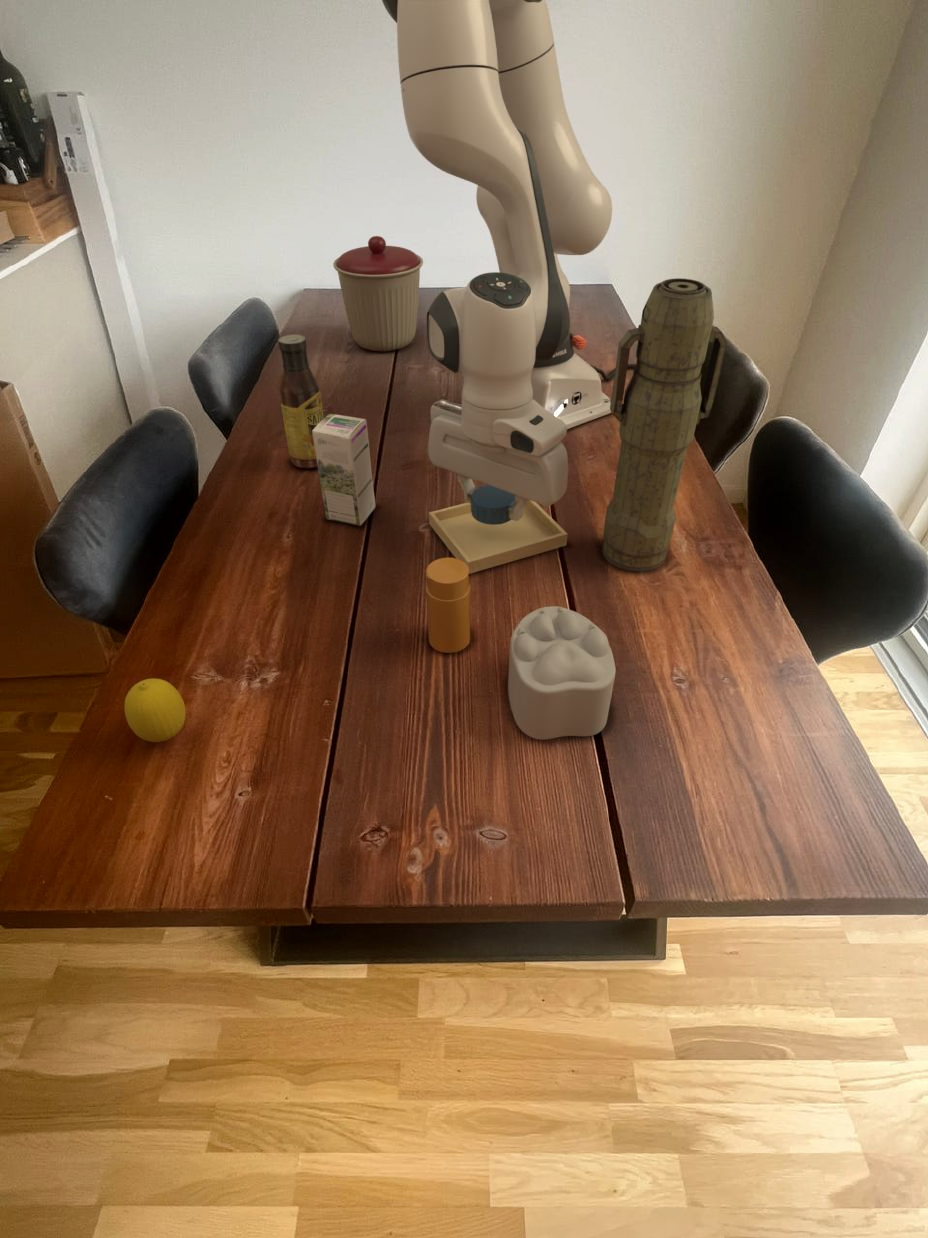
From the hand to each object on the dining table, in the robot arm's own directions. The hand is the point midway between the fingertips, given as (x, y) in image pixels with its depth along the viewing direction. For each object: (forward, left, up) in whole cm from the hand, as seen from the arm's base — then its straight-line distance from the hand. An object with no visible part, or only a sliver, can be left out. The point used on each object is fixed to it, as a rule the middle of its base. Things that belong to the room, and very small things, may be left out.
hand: (493, 509), depth 101 cm
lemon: (+47, +18, -4) cm, 51 cm away
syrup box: (+16, -14, -4) cm, 22 cm away
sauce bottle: (+17, -32, -4) cm, 37 cm away
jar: (+14, +17, -4) cm, 23 cm away
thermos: (-16, +12, -4) cm, 20 cm away
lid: (0, 0, +2) cm, 2 cm away
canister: (-12, -75, -4) cm, 76 cm away
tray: (-1, 0, -4) cm, 4 cm away
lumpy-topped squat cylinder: (+7, +30, -4) cm, 31 cm away
